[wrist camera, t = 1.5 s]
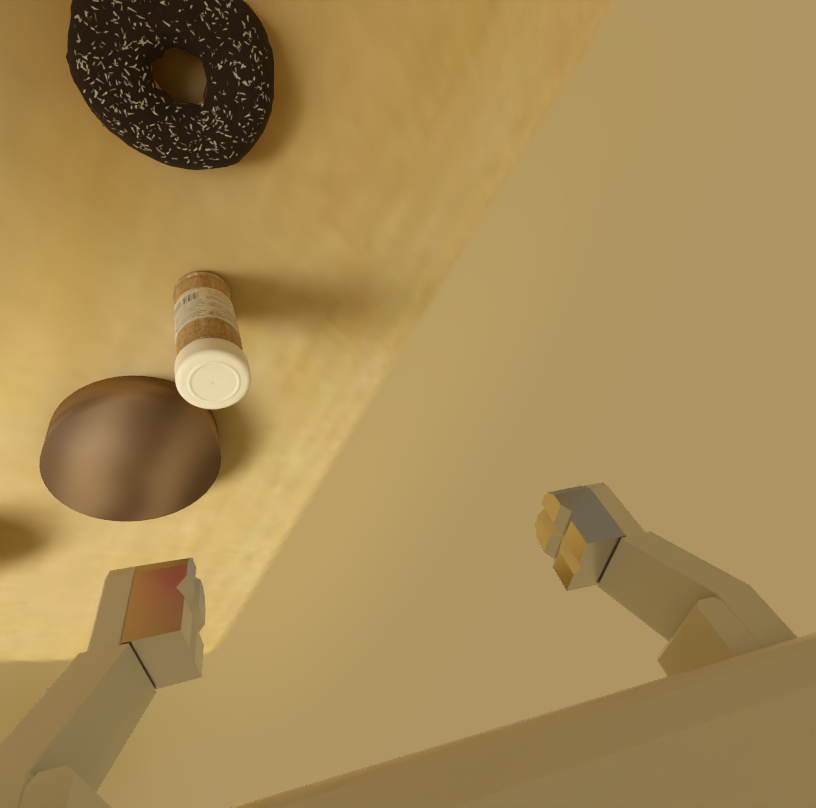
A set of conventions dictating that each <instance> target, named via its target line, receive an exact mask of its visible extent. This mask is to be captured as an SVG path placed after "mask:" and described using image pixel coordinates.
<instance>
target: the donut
mask: <svg viewBox="0 0 816 808" xmlns="http://www.w3.org/2000/svg"><path fill="white" fill-rule="evenodd" d="M168 48H181V49H185V50H187V51H189V52H190V53H192V54H194V55H195V56H197V57H199V58H200V59H201V60H202V62H203V65H204V69H205V74H206V79H207V84H206V88H205V91H204V95H203V100H202V101H201V102H199V103H198V104H192V103H187V102H182V101H180V102H175V101H173V100H172V99H171V98H170V97H169V95H168V94H167V93H165V92H164V91H163V90H162V89H161V88H160V86H159V85H158V84H157V82H156V81H155V80H154V77H153V74H152V62H153V61H155V60H157V59H159V58H161V57H162V56H163V54H164V52H165V50H167V49H168ZM66 59H67V61H68V64H69V67H70V72H71V75H72V78H73V80H74V82H75V84H76V85H77V87H78V89H79V90H80V92H81V94H82V96H83V98H84V99H85V101H86V103H87V104H88V106H89V107H90V109H91V111H92V112H93V113H94V114H95V115H96V117H97V118H98V119H99V120H100V121H101V123H102V125H103V126H104V125H105V127H106V128H107V129H108V130H109V131H110V132H112V133H113V134H115V135H116V136H118V137H119V138H120V139H121V140H123V141H124V142H125V143H126V144H127V145H129V146H130V147H132V148H134V149H135V150H137V151H139V152H141V153H143V154H145V155H147V156H149V157H151V158H153V159H155V160H157V161H159V162H161V163H164V164H166V165H169V166H173V167H179V168H184V169H192V170H202V169H213V168H221V167H227V166H230V165H233V164H236V163H238V162H239V161H240V160H241V159H242V158H243V157H244V156H245V155H246V154H247V153H248V152H249V151H250V150H251V148H252V147H253V146H254V145H255V143H256V142H257V140H258V139H259V137H260V136H261V134H262V133H263V131H264V129H265V127H266V124H267V122H268V119H269V116H270V114H271V111H272V102H273V98H274V60H273V52H272V48H271V46H270V44H269V41H268V37H267V33H266V31H265V29H264V27H263V25H262V23H261V21H260V20H259V18H258V17H257V16H256V14H255V13H254V12H253V11H252V9H251V8H250V7H249V6H248V5H247V4H246V3H245V2H244V1H243V0H73V1H72V4H71V20H70V26H69V32H68V52H67V55H66Z"/></svg>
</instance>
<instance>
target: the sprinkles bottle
mask: <svg viewBox="0 0 816 808" xmlns="http://www.w3.org/2000/svg"><path fill="white" fill-rule="evenodd" d="M173 298H174V302H175V309H174V326H175V346H176V348H177V357H176V361H175V365H174V374H175V383H176V387H177V390H178V392H179V393H180V395H181V396H182V397H183V398H184V399H185V400H186V401H187V402H189V403H190V404H192V405H194V406H197V407H200V408H204V409H220V408H225V407H228V406H231V405H233V404H235V403H236V402H238V401H239V400H240V399H241V398H242V397H243V396H244V395H245V394H246V393H247V391H248V389H249V386H250V383H251V374H250V368H249V363H248V360H247V357H246V355H245V354H244V352H243V350H242V343H241V337H240V333H239V329H238V324H237V320H236V315H235V311H234V307H233V305H232V296H231V291H230V288H229V287H228V286H227V284H226V282H224V280H223V279H222V278H220V277H219V276H217V275H215V274H213V273H210V272H204V271H196V272H191V273H189V274H187V275H185V276H184V277H182V278H181V279H180V280H179V281H178V283H177V284H176V286H175V288H174V294H173Z"/></svg>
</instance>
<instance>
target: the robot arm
mask: <svg viewBox="0 0 816 808" xmlns="http://www.w3.org/2000/svg"><path fill="white" fill-rule="evenodd" d="M542 505H543V506H544V509H543V511H541V512H540V513H539V514H538V516H537V519H536V524H535V527H536V535H537V538H538V541H539V543H540V545H541V547H542V549H543V551H544V552H545V553H546V554H548V555H550V556H551V557H553V558H554V564H553V568H554V570H555V572H556V573H557V575H558V577H559V578H560V580H561V582H562V583H563V585H564V587H565V588H566V590H567V591H568V590H573V589H578V588H582V587H588V586H592V585H597V584H599V585H598V587H599V588H601V589H602V590H603V591H604V592H606V593H607V594H608V595H610V596H611V597H612V598H614V599H615V600H616V601H617V602H619V603H620V604H621V605H623V606H624V607H625V608H626V609H628V610H629V611H630V612H632V613H633V614H634V615H636V616H637V617H638V618H639V619H641V620H642V621H643V622H645V623H646V624H647V625H648V626H650V627H651V628H652V629H654V630H655V631H656V632H657V633H659V634H660V635H661V636H663V637H664V638H665V639H667V640H668V643H667V644H666V646H665V647H664V648H663V650H662V651H661V652H660V654H659V657H658V662H659V664H660V665H661V667H662V668H663V670H664V671H665V673H666V674H667V676H668V677H665V678H662V679H658V680H655V681H652V682H648V683H645V684H642V685H638V686H635V687H632V688H629V689H625V690H622V691H619V692H615V693H612V694H609V695H605V696H602V697H598V698H595V699H592V700H588V701H585V702H582V703H578V704H575V705H572V706H569V707H565V708H562V709H559V710H555V711H552V712H548V713H546V714H542V715H538V716H535V717H532V718H528V719H525V720H522V721H518V722H515V723H512V724H508V725H505V726H502V727H498V728H495V729H492V730H489V731H485V732H482V733H479V734H475V735H472V736H468V737H465V738H462V739H458V740H455V741H452V742H449V743H445V744H442V745H438V746H435V747H432V748H429V749H425V750H422V751H419V752H415V753H412V754H408V755H405V756H402V757H398V758H395V759H392V760H389V761H386V762H382V763H379V764H375V765H372V766H369V767H365V768H362V769H359V770H355V771H352V772H349V773H346V774H342V775H339V776H335V777H332V778H329V779H325V780H322V781H319V782H316V783H312V784H309V785H305V786H302V787H299V788H295V789H293V790H289V791H285V792H282V793H279V794H276V795H272V796H269V797H265V798H262V799H259V800H255V801H252V802H249V803H245V804H242V805H239V806H236V807H232V808H816V632H815V633H811V634H808V635H805V636H801V637H797V636H796V635H795V634H794V633H793V632H792V631H791V630H790V629H789V628H788V626H786V624H785V623H784V622H783V621H782V620H781V619H780V618H779V617H778V615H777V614H776V613H775V612H774V611H773V610H772V609H771V608H770V607H769V606H768V604H767V603H766V602H765V601H764V600H763V599H762V598H761V597H760V596H759V595H758V594H757V592H756V591H755V590H754V589H753V588H752V587H751V586H750V585H748V584H746V583H745V582H743V581H741V580H739V579H737V578H735V577H733V576H732V575H730V574H728V573H726V572H724V571H722V570H721V569H718V568H717V567H715V566H713V565H711V564H709V563H708V562H706V561H704V560H702V559H700V558H698V557H697V556H695V555H693V554H691V553H689V552H687V551H686V550H684V549H682V548H680V547H678V546H676V545H674V544H672V543H671V542H669V541H667V540H665V539H663V538H662V537H660V536H658V535H656V534H654V533H652V532H644V530H643V529H642V528H641V526H640V525H639V524H638V523H637V521H636V520H635V519H634V518H633V516H632V515H631V514H630V513H629V511H627V509H626V508H625V507H624V505H623V504H622V503H621V502H620V500H619V499H618V498H617V497H616V495H615V494H614V493H613V492H612V491H611V489H610V488H609V487H608V486H607V485H606V484H604V483H596V484H591V485H587V486H578V487H573V488H568V489H563V490H558V491H553V492H548V493H547V494H545V495H544V497H543V500H542ZM195 575H196V566H195V563H194V561H193V558H187V559H180V560H174V561H168V562H161V563H155V564H148V565H142V566H136V567H130V568H124V569H118V570H113V571H110V572H109V574H108V575H107V577H106V579H105V581H104V585H103V589H102V594H101V598H100V602H99V606H98V610H97V614H96V618H95V622H94V626H93V630H92V634H91V638H90V642H89V646H88V650H87V652H84V653H80V654H78V655H77V656H76V657H75V658H74V659H73V661H72V662H71V663H70V664H69V665H68V667H67V668H66V669H65V670H64V671H63V672H62V673H61V674H60V676H59V677H58V678H57V679H56V680H55V682H54V683H53V684H52V685H51V686H50V687H49V688H48V689H47V691H46V692H45V693H44V694H43V695H42V696H41V697H40V699H39V700H38V701H37V702H36V703H35V704H34V706H33V707H32V708H31V709H30V710H29V711H28V713H27V714H26V715H25V716H24V717H23V718H22V719H21V721H20V722H19V723H18V724H17V725H16V726H15V727H14V729H13V730H12V731H11V732H10V733H9V734H8V736H7V737H6V738H5V739H4V740H3V741H2V742H1V744H0V808H111V807H110V806H109V805H108V804H107V803H106V802H105V801H104V800H103V799H102V798H101V797H100V796H99V795H98V794H97V793H96V792H97V790H98V788H99V787H100V785H101V783H102V782H103V780H104V778H105V777H106V775H107V773H108V772H109V770H110V768H111V767H112V765H113V763H114V762H115V760H116V758H117V757H118V755H119V753H120V752H121V750H122V748H123V747H124V745H125V743H126V742H127V740H128V738H129V737H130V735H131V733H132V732H133V730H134V728H135V727H136V725H137V723H138V722H139V720H140V718H141V717H142V715H143V713H144V712H145V710H146V709H147V707H148V705H149V703H150V702H151V700H152V699H153V697H154V695H155V694H156V690H155V689H158V688H162V687H166V686H169V685H173V684H177V683H181V682H185V681H189V680H193V679H196V678H200V677H202V661H203V646H204V645H203V642H202V639H201V637H200V634H199V632H200V630H201V629H202V627H203V626H204V625H205V596H204V591H203V586H202V583H201V580H200V579H198V578H196V577H195Z"/></svg>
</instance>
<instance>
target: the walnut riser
mask: <svg viewBox="0 0 816 808" xmlns="http://www.w3.org/2000/svg"><path fill="white" fill-rule="evenodd" d="M220 462H221V457H220V448H219V440H218V431H217V424H216V421H215V418H214V416H213V414H212V412H211V410H210V409H204V408H200V407H197V406H194V405H192V404H190V403H189V402H187V401H186V400H185V399H184V398H183V397H182V396H181V395H180V393H179V392H178V390H177V387H176V384H175V383H172V382H169V381H166V380H162V379H158V378H153V377H145V376H123V377H114V378H109V379H104V380H101V381H97V382H94V383H92V384H89V385H87V386H85V387H83V388H81V389H79V390H77V391H76V392H74V393H73V394H71V395H70V396H69V397H67V398H66V399H65V400H64V401H63V402H62V403H61V404H60V405H59V407H58V408H57V409H56V411H55V412H54V414H53V416H52V419H51V421H50V424H49V428H48V431H47V435H46V438H45V441H44V445H43V448H42V452H41V456H40V472H41V476H42V479H43V481H44V484H45V485H46V487H47V488H48V490H49V491H50V492H51V493H52V494H53V496H54V497H55V498H57V499H58V500H59V501H60V502H62V503H63V504H64V505H66V506H68V507H69V508H71V509H73V510H75V511H77V512H79V513H82V514H85V515H88V516H91V517H95V518H99V519H104V520H111V521H142V520H149V519H155V518H159V517H163V516H166V515H169V514H172V513H175V512H177V511H179V510H181V509H184V508H185V507H187V506H189V505H191V504H192V503H194V502H195V501H197V500H198V499H199V498H200V497H202V496H203V495H204V494H205V493H206V492H207V491H208V489H209V488H210V487H211V486H212V484H213V483H214V481H215V479H216V477H217V475H218V473H219V469H220Z"/></svg>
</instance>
